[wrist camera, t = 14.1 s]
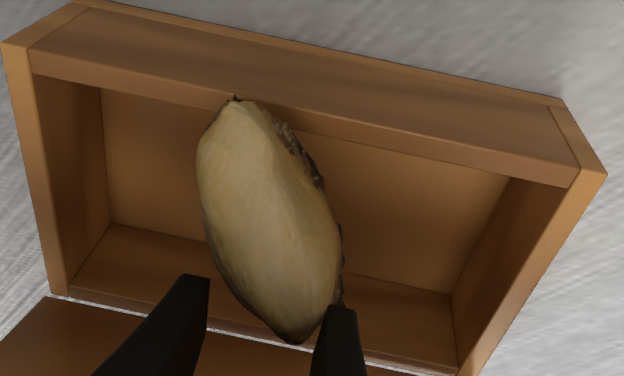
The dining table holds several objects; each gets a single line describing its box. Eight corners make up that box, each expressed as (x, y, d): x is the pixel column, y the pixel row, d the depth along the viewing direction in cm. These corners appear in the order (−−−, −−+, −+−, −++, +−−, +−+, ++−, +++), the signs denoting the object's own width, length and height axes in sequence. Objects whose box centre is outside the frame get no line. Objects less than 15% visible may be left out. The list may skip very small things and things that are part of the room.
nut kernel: (229, 62, 10) (135, 154, 9) (440, 180, 10) (386, 302, 8) (205, 218, 16) (143, 296, 14) (344, 300, 15) (298, 392, 13)
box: (81, -6, 16) (-3, 41, 12) (562, 98, 16) (610, 174, 12) (103, 219, 21) (50, 294, 18) (459, 295, 21) (472, 384, 18)
